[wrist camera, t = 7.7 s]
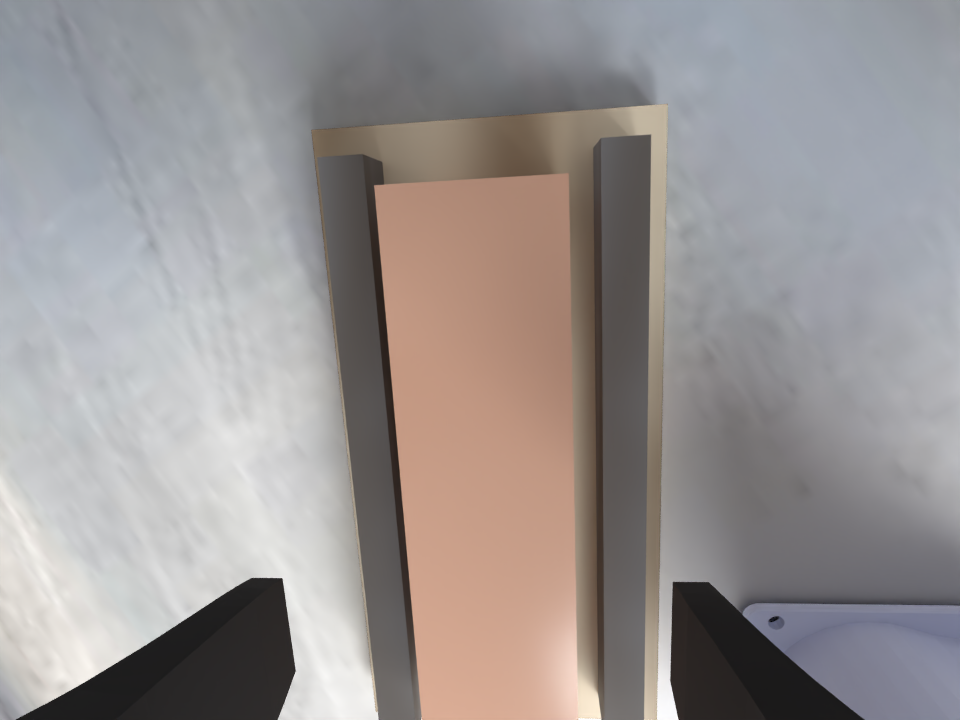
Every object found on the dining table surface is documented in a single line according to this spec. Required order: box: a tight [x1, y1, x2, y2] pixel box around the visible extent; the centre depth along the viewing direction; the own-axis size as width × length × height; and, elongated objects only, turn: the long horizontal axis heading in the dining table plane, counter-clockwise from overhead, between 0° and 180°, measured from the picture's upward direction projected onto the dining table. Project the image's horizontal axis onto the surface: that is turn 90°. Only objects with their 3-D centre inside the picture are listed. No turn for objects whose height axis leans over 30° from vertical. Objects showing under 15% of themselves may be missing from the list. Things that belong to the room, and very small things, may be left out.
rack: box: [311, 104, 668, 720], centre depth 18 cm, size 10×20×3 cm, turn 3°
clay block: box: [374, 173, 578, 720], centre depth 16 cm, size 4×16×5 cm, turn 3°
